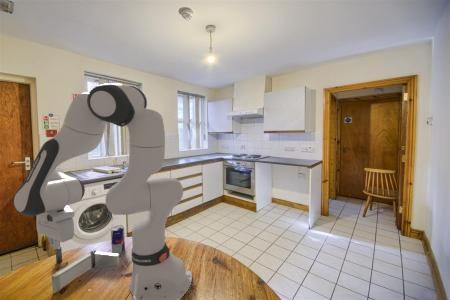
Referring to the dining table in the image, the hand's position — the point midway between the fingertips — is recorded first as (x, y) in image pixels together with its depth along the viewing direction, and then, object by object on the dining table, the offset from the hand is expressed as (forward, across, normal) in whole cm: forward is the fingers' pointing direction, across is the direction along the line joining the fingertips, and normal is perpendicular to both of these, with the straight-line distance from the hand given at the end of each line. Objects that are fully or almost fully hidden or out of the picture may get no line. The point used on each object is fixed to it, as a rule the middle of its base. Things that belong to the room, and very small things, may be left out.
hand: (55, 247), depth 77 cm
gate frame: (+12, +1, +10) cm, 16 cm away
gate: (+12, +6, +3) cm, 13 cm away
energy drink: (+12, +5, +22) cm, 25 cm away
